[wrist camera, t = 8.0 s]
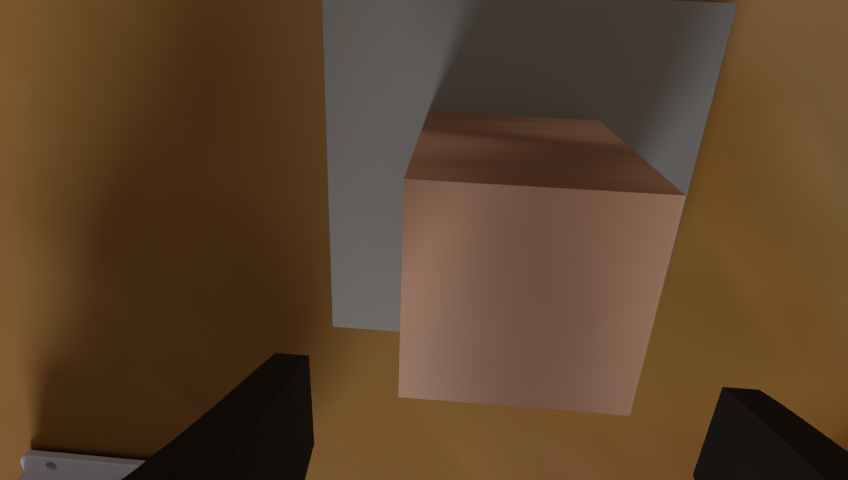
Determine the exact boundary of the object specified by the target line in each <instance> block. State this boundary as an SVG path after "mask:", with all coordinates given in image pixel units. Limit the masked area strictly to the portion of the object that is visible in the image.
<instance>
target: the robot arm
mask: <svg viewBox="0 0 848 480" xmlns="http://www.w3.org/2000/svg"><path fill="white" fill-rule="evenodd" d="M313 446H314V433H313V416H312V400H311V384H310V367H309V356H306V355H293V354H279V353H275V354H274V355H273V356H271V357H270V358H269V359H268V360H267V361H266V362H264V363H263V364H262V365H261V366H260V367H258V368H257V369H256V370H255V371H254V372H253V373H252V374H250V375H249V376H248V377H247V378H246V379H245V380H244V381H242V382H241V383H240V384H239V385H238V386H237V387H236V388H234V389H233V390H232V391H231V392H230V393H229V394H228V395H226V396H225V397H224V398H223V399H222V400H221V401H219V402H218V403H217V404H216V405H215V406H214V407H212V408H211V409H210V410H209V411H208V412H206V413H205V414H204V415H203V416H202V417H200V418H199V419H198V420H197V421H196V422H194V423H193V424H192V425H191V426H190V427H188V428H187V429H186V430H185V431H184V432H182V433H181V434H180V435H179V436H178V437H176V438H175V439H174V440H173V441H171V442H170V443H169V444H167V445H166V446H165V447H163V448H162V449H161V450H160V451H158V452H157V453H156V454H154V455H153V456H152V457H150V458H149V459H148V460H147V461H145V460H134V459H123V458H113V457H102V456H91V455H80V454H70V453H59V452H48V451H38V450H29V451H28V452H26V453H25V454H24V455H23V456H22V458H21V464H22V467H23V470H24V473H23V474H22V475H21V476H20V477H19V478H18V479H17V480H305V477H306V473H307V469H308V465H309V461H310V457H311V453H312V449H313ZM693 476H694V480H848V452H847V451H846V450H844V449H843V448H842V447H840V446H839V445H837V444H836V443H835V442H833V441H832V440H831V439H829V438H828V437H826V436H825V435H824V434H822V433H821V432H820V431H818V430H817V429H815V428H814V427H813V426H811V425H810V424H809V423H807V422H806V421H804V420H803V419H802V418H800V417H799V416H797V415H796V414H795V413H793V412H792V411H790V410H789V409H787V408H786V407H785V406H783V405H782V404H780V403H779V402H777V401H776V400H774V399H773V398H771V397H770V396H768V395H767V394H765V393H763V392H762V391H760V390H754V389H740V388H727V387H722V390H721V393H720V396H719V399H718V402H717V405H716V408H715V411H714V414H713V417H712V420H711V423H710V426H709V429H708V432H707V435H706V438H705V441H704V444H703V447H702V450H701V453H700V456H699V459H698V462H697V465H696V467H695V470H694V473H693Z"/></svg>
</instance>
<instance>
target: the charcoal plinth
mask: <svg viewBox="0 0 848 480" xmlns="http://www.w3.org/2000/svg"><path fill="white" fill-rule="evenodd" d="M737 4H738V3H721V2H699V1H677V0H322V17H323V47H324V78H325V108H326V138H327V169H328V199H329V229H330V259H331V290H332V320H333V327H346V328H359V329H371V330H384V331H397V332H400V313H401V270H402V227H403V184H404V176H405V174H406V171H407V168H408V165H409V163H410V160H411V157H412V154H413V152H414V149H415V146H416V143H417V141H418V138H419V135H420V132H421V130H422V127H423V124H424V121H425V119H426V116H427V113H428V112H447V113H466V114H485V115H504V116H524V117H543V118H562V119H581V120H599V121H600V122H601V123H603V124H604V125H605V126H606V127H607V128H608V129H610V130H611V131H612V132H613V133H614V134H615V135H616V136H618V137H619V138H620V139H621V140H622V141H623V142H625V143H626V144H627V145H628V146H629V147H630V148H632V149H633V150H634V151H635V152H636V153H637V154H638V155H640V156H641V157H642V158H643V159H644V160H645V161H647V162H648V163H649V164H650V165H651V166H652V167H654V168H655V169H656V170H657V171H658V172H659V173H660V174H662V175H663V176H664V177H665V178H666V179H667V180H669V181H670V182H671V183H672V184H673V185H674V186H676V187H677V188H678V189H679V190H680V191H681V192H682V193H684V194H685V195H686V198H687V194H688V190H689V186H690V183H691V179H692V175H693V171H694V167H695V164H696V160H697V156H698V152H699V148H700V145H701V141H702V137H703V133H704V129H705V125H706V122H707V118H708V114H709V110H710V106H711V103H712V99H713V95H714V91H715V87H716V84H717V80H718V76H719V72H720V68H721V65H722V61H723V57H724V53H725V49H726V45H727V42H728V38H729V34H730V30H731V26H732V23H733V19H734V15H735V11H736V7H737ZM686 198H685V202H686ZM685 202H684V206H685ZM684 206H683V209H684ZM682 213H683V210H682ZM681 217H682V214H681ZM680 221H681V218H680ZM679 225H680V222H679ZM679 225H678V228H679ZM677 232H678V229H677ZM676 236H677V233H676ZM675 240H676V237H675ZM674 244H675V241H674ZM673 247H674V245H673ZM672 251H673V249H672ZM671 255H672V253H671ZM670 259H671V257H670ZM669 263H670V261H669ZM668 266H669V264H668ZM667 270H668V268H667ZM666 274H667V272H666ZM665 278H666V276H665ZM664 282H665V280H664ZM663 286H664V284H663ZM662 289H663V288H662ZM661 293H662V292H661ZM660 297H661V296H660ZM659 301H660V300H659ZM658 305H659V304H658ZM657 308H658V307H657ZM656 312H657V311H656ZM655 316H656V315H655ZM654 320H655V319H654ZM653 324H654V323H653Z"/></svg>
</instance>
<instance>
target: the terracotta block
mask: <svg viewBox="0 0 848 480" xmlns="http://www.w3.org/2000/svg"><path fill="white" fill-rule="evenodd" d="M685 198H686V195H685V194H684V193H682V192H681V191H680V190H679V189H678V188H677V187H676V186H674V185H673V184H672V183H671V182H670V181H669V180H667V179H666V178H665V177H664V176H663V175H662V174H660V173H659V172H658V171H657V170H656V169H655V168H654V167H652V166H651V165H650V164H649V163H648V162H647V161H645V160H644V159H643V158H642V157H641V156H640V155H638V154H637V153H636V152H635V151H634V150H633V149H632V148H630V147H629V146H628V145H627V144H626V143H625V142H623V141H622V140H621V139H620V138H619V137H618V136H616V135H615V134H614V133H613V132H612V131H611V130H610V129H608V128H607V127H606V126H605V125H604V124H603V123H601V122H600V121H599V120H581V119H562V118H543V117H524V116H504V115H485V114H466V113H447V112H428V113H427V116H426V119H425V121H424V124H423V127H422V130H421V132H420V135H419V138H418V141H417V143H416V146H415V149H414V152H413V154H412V157H411V160H410V163H409V165H408V168H407V171H406V174H405V176H404V184H403V227H402V270H401V313H400V356H399V397H404V398H416V399H429V400H441V401H453V402H466V403H478V404H491V405H503V406H515V407H528V408H540V409H553V410H565V411H577V412H590V413H602V414H614V415H627V416H630V413H631V409H632V405H633V401H634V397H635V393H636V389H637V386H638V382H639V378H640V374H641V370H642V366H643V362H644V358H645V354H646V350H647V347H648V343H649V339H650V335H651V331H652V327H653V323H654V319H655V315H656V311H657V307H658V304H659V300H660V296H661V292H662V288H663V284H664V280H665V276H666V272H667V268H668V264H669V261H670V257H671V253H672V249H673V245H674V241H675V237H676V233H677V229H678V225H679V222H680V218H681V214H682V210H683V206H684V202H685Z"/></svg>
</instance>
